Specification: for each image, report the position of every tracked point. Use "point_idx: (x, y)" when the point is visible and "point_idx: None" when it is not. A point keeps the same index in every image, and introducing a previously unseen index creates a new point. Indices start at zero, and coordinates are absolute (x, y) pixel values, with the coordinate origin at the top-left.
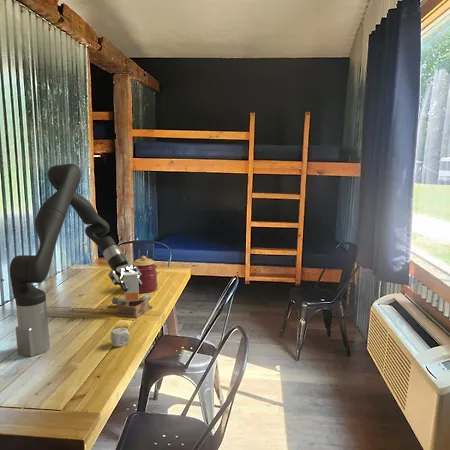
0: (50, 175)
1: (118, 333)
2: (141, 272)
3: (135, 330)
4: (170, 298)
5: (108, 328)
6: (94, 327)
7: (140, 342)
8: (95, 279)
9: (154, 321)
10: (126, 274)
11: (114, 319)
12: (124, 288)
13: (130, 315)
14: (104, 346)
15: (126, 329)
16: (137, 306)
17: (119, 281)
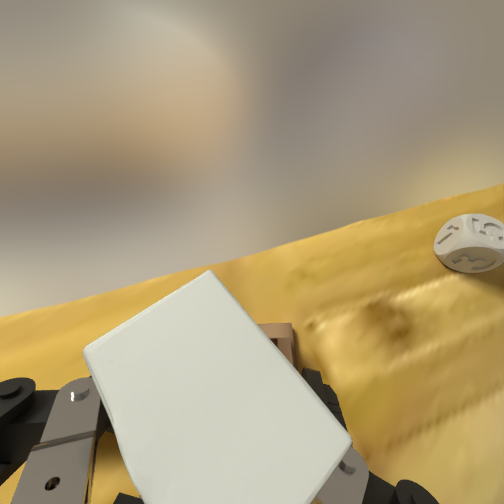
0: None
1: (501, 223)
2: None
3: (369, 266)
4: (13, 323)
5: (427, 369)
6: (471, 448)
7: (409, 217)
8: None
9: (282, 252)
10: (306, 422)
11: (351, 420)
12: (334, 393)
13: (295, 357)
14: (501, 283)
15: (467, 218)
16: (269, 327)
17: (375, 497)
